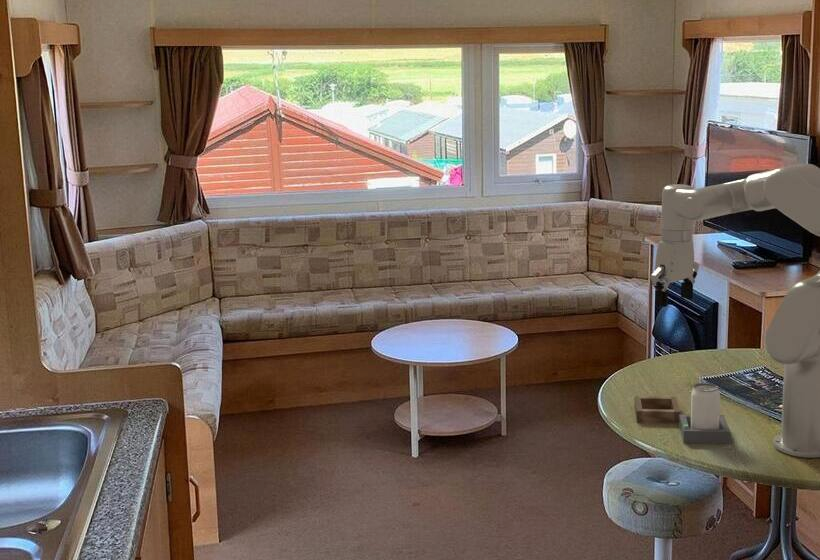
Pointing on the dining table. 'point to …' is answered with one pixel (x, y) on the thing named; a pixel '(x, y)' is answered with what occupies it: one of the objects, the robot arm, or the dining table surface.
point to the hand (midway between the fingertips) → (674, 302)
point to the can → (705, 406)
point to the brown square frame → (656, 409)
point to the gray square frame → (704, 432)
